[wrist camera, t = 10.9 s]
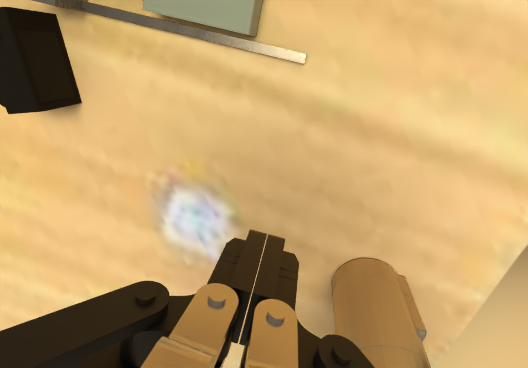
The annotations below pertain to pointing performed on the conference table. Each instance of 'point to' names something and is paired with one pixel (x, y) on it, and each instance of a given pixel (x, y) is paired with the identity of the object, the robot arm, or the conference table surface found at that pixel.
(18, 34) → the digital camera
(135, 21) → the vise
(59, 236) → the conference table surface
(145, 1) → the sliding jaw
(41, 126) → the conference table surface
